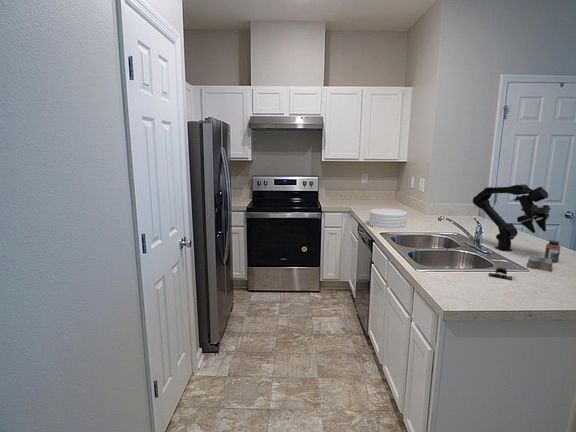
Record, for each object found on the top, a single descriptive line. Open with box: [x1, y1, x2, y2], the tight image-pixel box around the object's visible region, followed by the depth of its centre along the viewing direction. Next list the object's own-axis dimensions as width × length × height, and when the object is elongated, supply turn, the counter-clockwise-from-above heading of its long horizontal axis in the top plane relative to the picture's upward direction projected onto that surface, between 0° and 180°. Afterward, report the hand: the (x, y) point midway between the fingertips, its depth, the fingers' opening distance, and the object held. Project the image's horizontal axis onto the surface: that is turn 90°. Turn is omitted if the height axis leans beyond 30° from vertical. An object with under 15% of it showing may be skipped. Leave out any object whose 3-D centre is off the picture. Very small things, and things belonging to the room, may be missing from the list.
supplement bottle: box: [543, 239, 561, 263], centre depth 176 cm, size 6×6×11 cm
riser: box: [526, 255, 554, 273], centre depth 168 cm, size 10×10×4 cm
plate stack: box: [368, 207, 408, 230], centre depth 258 cm, size 28×28×12 cm
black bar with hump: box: [488, 266, 513, 281], centre depth 155 cm, size 12×7×5 cm, turn 57°
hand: (539, 232), depth 178 cm, fingers open, 9 cm apart
